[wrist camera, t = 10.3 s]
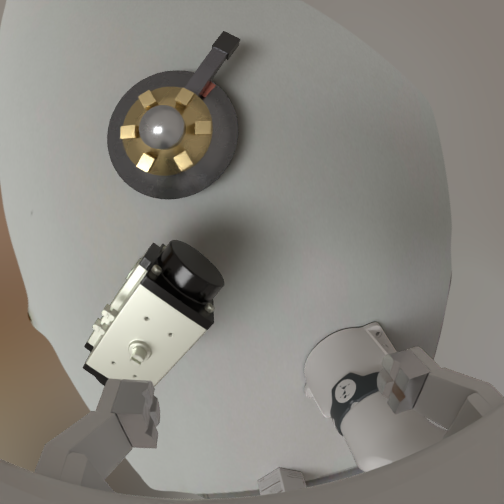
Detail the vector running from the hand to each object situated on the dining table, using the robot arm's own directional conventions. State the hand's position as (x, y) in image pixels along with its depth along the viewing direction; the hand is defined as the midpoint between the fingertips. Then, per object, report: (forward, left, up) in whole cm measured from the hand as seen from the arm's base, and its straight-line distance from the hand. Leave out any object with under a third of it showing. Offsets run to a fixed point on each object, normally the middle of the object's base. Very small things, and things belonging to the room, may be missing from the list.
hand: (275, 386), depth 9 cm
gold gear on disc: (+12, -4, -31) cm, 33 cm away
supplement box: (-52, +46, -31) cm, 76 cm away
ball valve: (+2, +13, -31) cm, 34 cm away
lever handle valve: (+13, -8, -28) cm, 32 cm away
